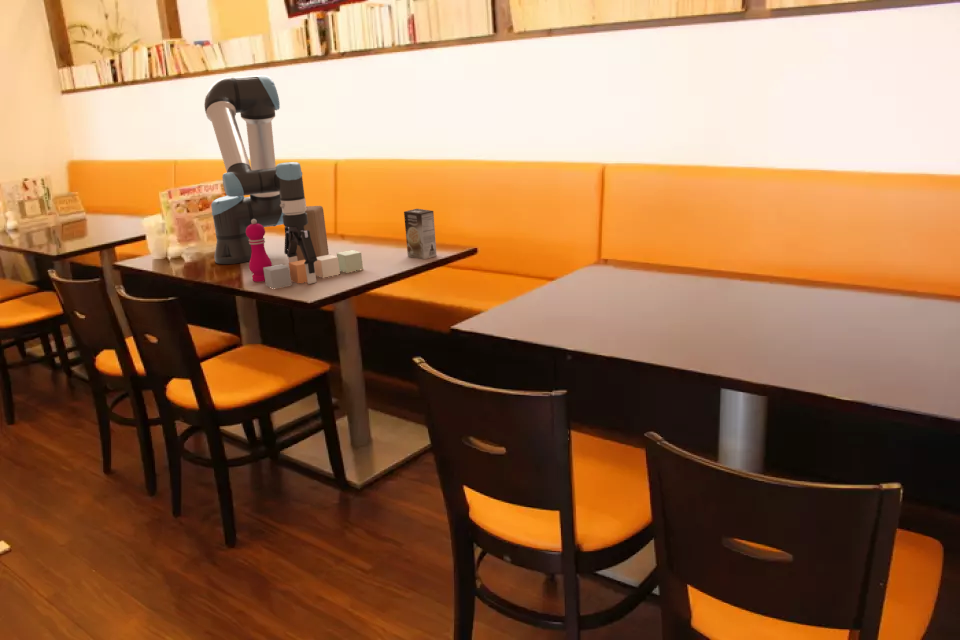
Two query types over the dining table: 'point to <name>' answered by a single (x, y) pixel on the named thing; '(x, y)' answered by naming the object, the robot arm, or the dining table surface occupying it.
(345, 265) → the sage cube
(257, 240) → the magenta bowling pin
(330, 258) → the cream cube
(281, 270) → the grey cube
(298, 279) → the orange cube
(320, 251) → the wooden block
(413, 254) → the coffee box
